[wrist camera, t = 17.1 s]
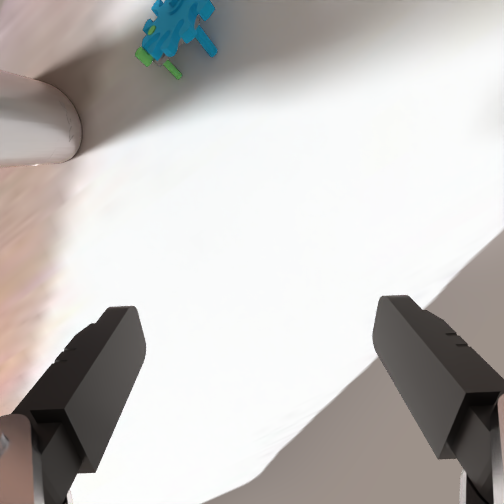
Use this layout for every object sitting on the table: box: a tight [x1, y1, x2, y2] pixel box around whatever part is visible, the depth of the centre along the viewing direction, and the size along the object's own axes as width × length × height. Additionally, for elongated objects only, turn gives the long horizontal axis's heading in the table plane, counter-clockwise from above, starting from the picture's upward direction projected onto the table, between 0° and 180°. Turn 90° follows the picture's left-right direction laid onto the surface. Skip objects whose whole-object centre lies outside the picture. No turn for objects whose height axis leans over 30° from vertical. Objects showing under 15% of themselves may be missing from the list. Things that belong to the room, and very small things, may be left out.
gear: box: [135, 0, 217, 79], centre depth 27 cm, size 11×6×10 cm
